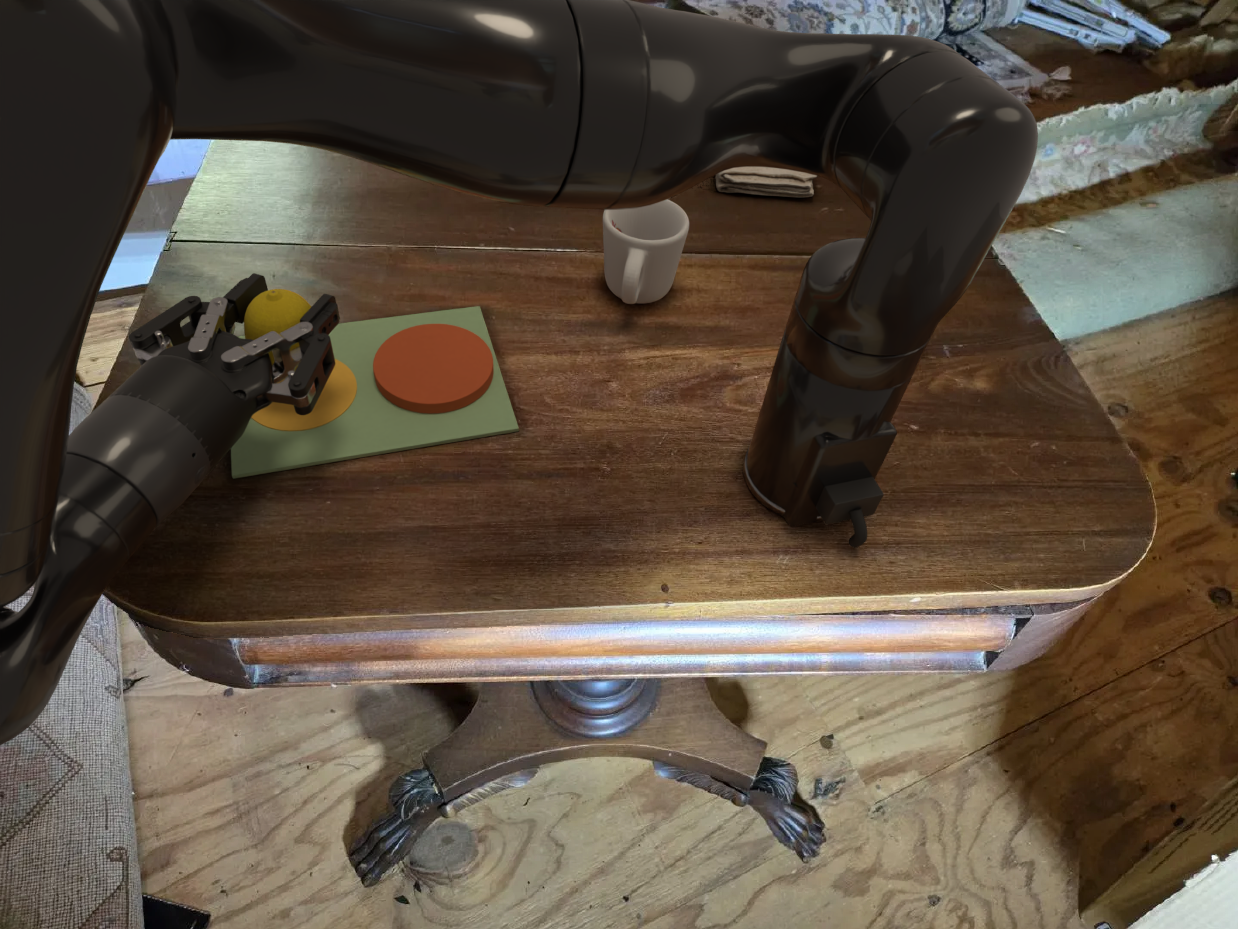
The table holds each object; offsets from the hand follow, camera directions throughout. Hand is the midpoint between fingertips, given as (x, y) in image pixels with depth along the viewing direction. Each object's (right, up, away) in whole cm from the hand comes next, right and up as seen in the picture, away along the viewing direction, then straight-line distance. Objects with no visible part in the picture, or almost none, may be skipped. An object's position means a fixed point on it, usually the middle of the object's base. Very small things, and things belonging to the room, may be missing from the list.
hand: (296, 294), depth 66 cm
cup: (+26, +3, +17) cm, 32 cm away
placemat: (+4, -6, +6) cm, 10 cm away
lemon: (-1, -6, +3) cm, 7 cm away
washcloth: (+42, +23, +37) cm, 60 cm away
